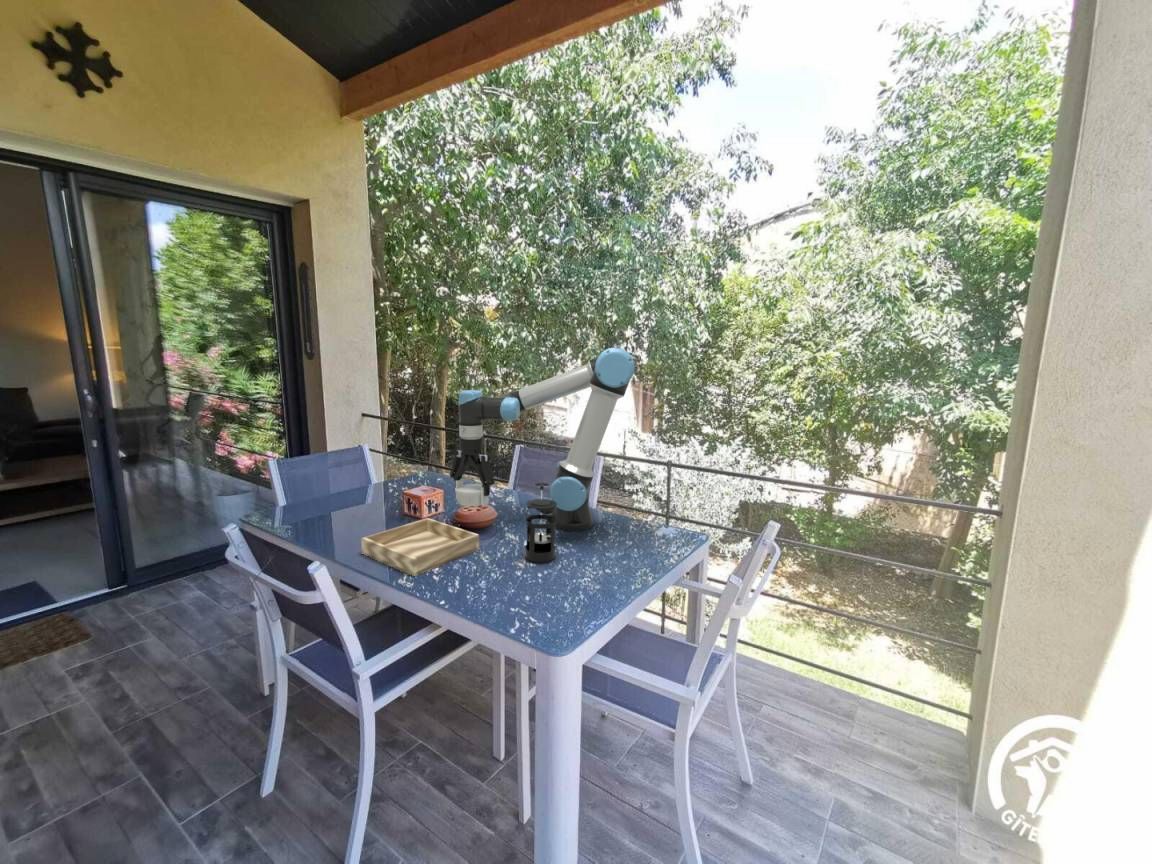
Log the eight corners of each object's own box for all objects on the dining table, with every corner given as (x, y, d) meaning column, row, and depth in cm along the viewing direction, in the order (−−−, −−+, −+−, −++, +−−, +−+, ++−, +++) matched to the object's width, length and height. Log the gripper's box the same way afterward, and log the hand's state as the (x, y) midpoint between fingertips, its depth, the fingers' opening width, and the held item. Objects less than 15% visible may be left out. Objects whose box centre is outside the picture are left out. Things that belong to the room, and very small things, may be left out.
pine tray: (478, 550, 156) (478, 534, 155) (413, 576, 137) (413, 559, 136) (427, 532, 170) (427, 517, 169) (361, 554, 150) (361, 538, 149)
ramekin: (465, 496, 178) (465, 482, 177) (494, 499, 174) (494, 484, 174) (448, 505, 167) (448, 490, 166) (479, 509, 164) (479, 493, 163)
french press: (542, 567, 145) (544, 489, 142) (516, 559, 150) (517, 484, 146) (564, 554, 155) (567, 481, 152) (539, 547, 160) (541, 476, 156)
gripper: (438, 435, 171) (439, 498, 174) (489, 443, 157) (489, 511, 161) (455, 432, 177) (456, 493, 180) (505, 439, 164) (505, 505, 167)
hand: (472, 501), depth 171 cm, fingers closed on ramekin, 11 cm apart
